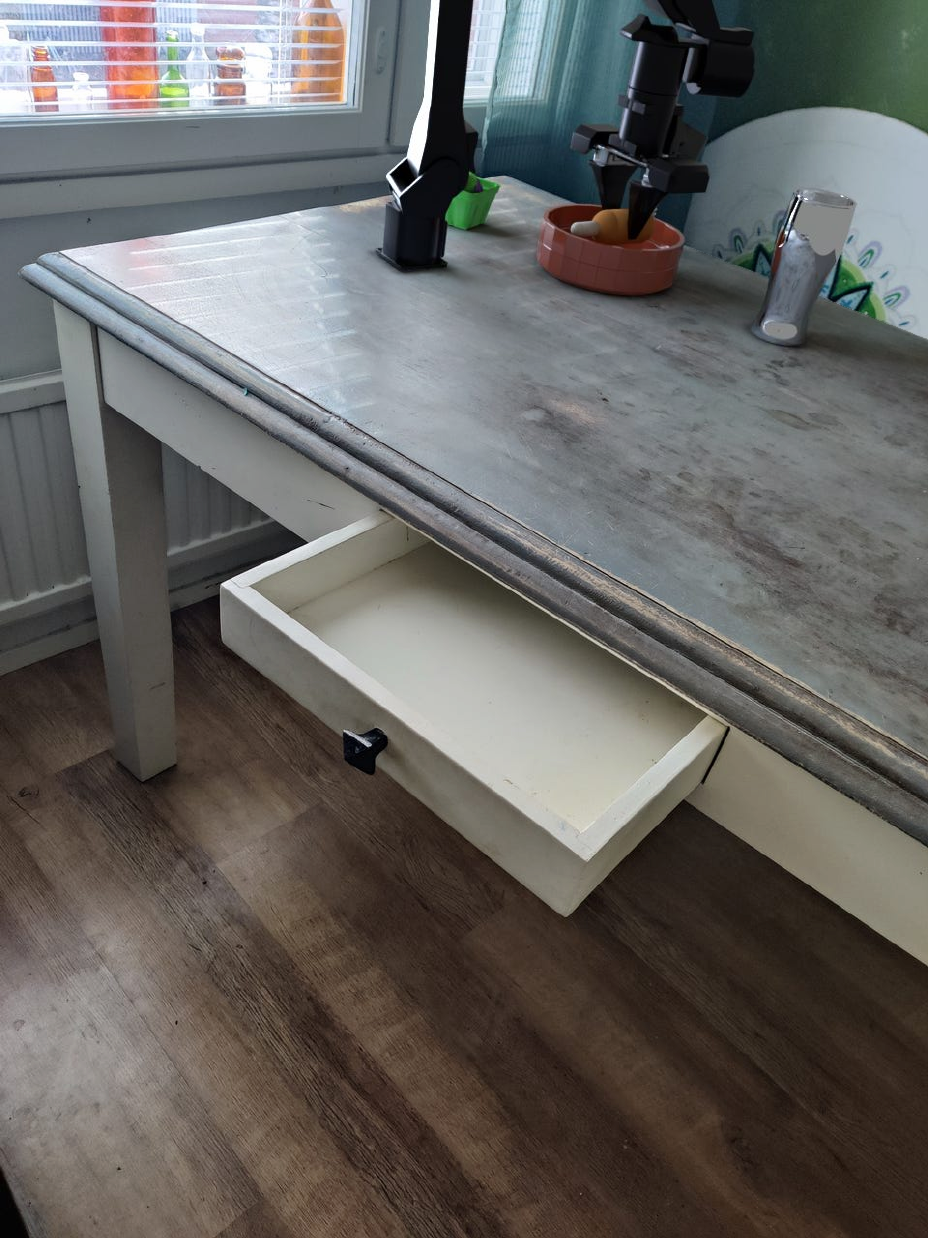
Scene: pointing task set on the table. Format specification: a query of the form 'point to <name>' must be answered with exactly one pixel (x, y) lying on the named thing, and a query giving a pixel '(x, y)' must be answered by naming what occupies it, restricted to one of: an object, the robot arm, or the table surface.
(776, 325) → the beer glass
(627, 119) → the robot arm
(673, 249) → the shallow orange pet bowl
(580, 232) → the drumstick
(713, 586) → the table surface
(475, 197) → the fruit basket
